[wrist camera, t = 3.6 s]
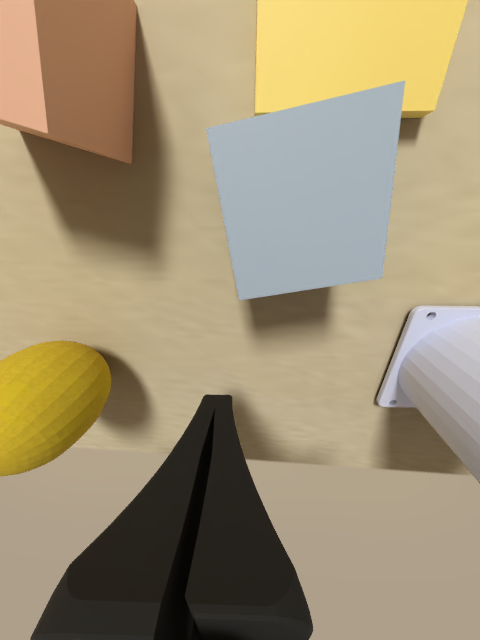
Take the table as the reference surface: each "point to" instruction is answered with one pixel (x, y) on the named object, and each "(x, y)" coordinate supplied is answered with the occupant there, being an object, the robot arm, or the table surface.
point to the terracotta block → (70, 72)
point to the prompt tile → (353, 50)
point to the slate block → (309, 191)
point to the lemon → (48, 402)
